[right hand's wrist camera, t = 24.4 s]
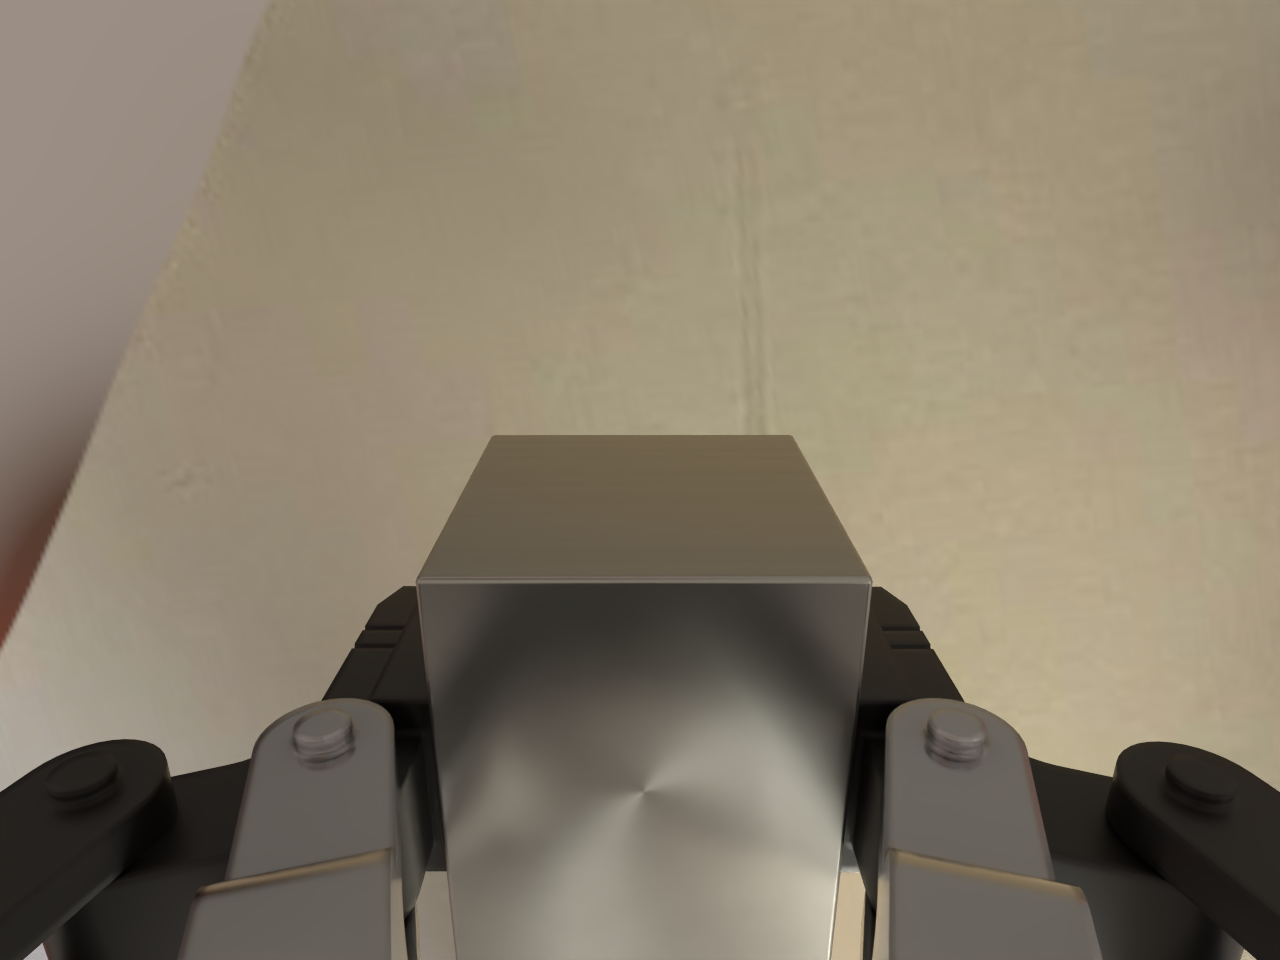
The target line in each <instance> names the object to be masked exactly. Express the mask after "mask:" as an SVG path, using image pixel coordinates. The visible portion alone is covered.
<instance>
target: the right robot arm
mask: <svg viewBox="0 0 1280 960" xmlns="http://www.w3.org/2000/svg"><path fill="white" fill-rule="evenodd" d="M426 871H447V869H446V860H445V850H444V841H443V832H442V822H441V813H440V804H439V794H438V785H437V776H436V766H435V757H434V748H433V738H432V729H431V720H430V710H429V701H428V692H427V682H426V673H425V664H424V654H423V645H422V636H421V626H420V617H419V608H418V598H417V589H416V586H403V587H402V588H400V589H399V590H397V591H396V592H395V593H393V594H392V595H391V596H389V597H388V598H386V599H385V600H384V601H382V602H381V603H379V604H378V605H377V607H376V608H375V610H374V612H373V614H372V615H371V617H370V619H369V620H368V622H367V624H366V625H365V630H363V631H362V632H361V634H360V636H359V637H358V639H357V641H356V643H355V648H352V649H351V651H350V653H349V654H348V656H347V658H346V660H345V661H344V663H343V665H342V666H341V668H340V670H339V672H338V673H337V675H336V677H335V678H334V680H333V682H332V683H331V685H330V687H329V689H328V690H327V692H326V694H325V695H324V697H323V699H322V701H319V702H315V703H312V704H308V705H305V706H303V707H300V708H298V709H295V710H293V711H291V712H289V713H287V714H285V715H284V716H282V717H280V718H279V719H277V720H276V721H274V722H273V723H272V724H271V725H270V726H268V727H267V728H266V729H265V730H264V732H263V733H262V734H261V735H260V736H259V738H258V740H257V741H256V743H255V746H254V748H253V752H252V757H251V759H248V760H245V761H242V762H238V763H234V764H230V765H225V766H221V767H216V768H211V769H206V770H202V771H197V772H192V773H188V774H183V775H178V776H173V777H171V776H170V772H169V768H168V763H167V760H166V757H165V754H164V753H163V751H162V750H161V749H160V748H159V747H157V746H155V745H154V744H151V743H149V742H146V741H140V740H130V739H122V740H110V741H104V742H98V743H94V744H90V745H87V746H83V747H80V748H77V749H74V750H71V751H69V752H66V753H64V754H62V755H59V756H57V757H55V758H53V759H51V760H49V761H47V762H45V763H43V764H42V765H40V766H39V767H37V768H35V769H34V770H32V771H31V772H29V773H28V774H26V775H25V776H23V777H22V778H20V779H19V780H17V781H16V782H14V783H13V784H12V785H10V786H9V787H7V788H6V789H4V790H3V791H1V792H0V960H23V959H24V958H26V957H27V956H28V955H29V954H30V953H31V952H32V951H33V950H35V949H36V948H37V947H38V946H39V945H40V944H41V943H43V946H44V948H45V951H46V954H47V957H48V960H420V944H419V923H418V914H417V906H416V900H417V898H418V895H419V892H420V889H421V885H422V882H423V879H424V875H425V872H426ZM841 872H860V873H861V876H862V880H863V883H864V886H865V889H866V890H865V898H864V906H863V914H862V922H861V943H860V960H1240V959H1241V956H1242V953H1243V950H1244V949H1245V950H1247V951H1248V952H1249V953H1250V954H1251V955H1252V956H1253V957H1254V958H1256V959H1257V960H1280V792H1279V791H1277V790H1276V789H1274V788H1273V787H1271V786H1270V785H1268V784H1267V783H1266V782H1264V781H1263V780H1261V779H1260V778H1258V777H1257V776H1255V775H1254V774H1252V773H1251V772H1249V771H1248V770H1246V769H1244V768H1243V767H1241V766H1239V765H1237V764H1236V763H1234V762H1232V761H1230V760H1228V759H1226V758H1223V757H1221V756H1219V755H1216V754H1214V753H1211V752H1208V751H1205V750H1202V749H1199V748H1196V747H1192V746H1188V745H1183V744H1177V743H1171V742H1145V743H1139V744H1135V745H1133V746H1130V747H1128V748H1127V749H1125V750H1124V751H1122V753H1121V754H1120V755H1119V757H1118V759H1117V762H1116V766H1115V770H1114V774H1113V777H1108V776H1104V775H1099V774H1094V773H1089V772H1085V771H1080V770H1075V769H1070V768H1066V767H1061V766H1056V765H1053V764H1049V763H1045V762H1042V761H1039V760H1036V759H1033V758H1030V757H1028V752H1027V749H1026V746H1025V743H1024V741H1023V740H1022V738H1021V736H1020V735H1019V734H1018V733H1017V732H1016V730H1015V729H1014V728H1013V727H1012V726H1010V725H1009V724H1008V723H1007V722H1006V721H1004V720H1003V719H1001V718H1000V717H998V716H996V715H995V714H993V713H991V712H989V711H987V710H985V709H982V708H980V707H977V706H975V705H972V704H968V703H965V702H964V700H963V698H962V697H961V695H960V693H959V692H958V690H957V688H956V687H955V685H954V683H953V682H952V680H951V678H950V676H949V675H948V673H947V671H946V670H945V668H944V666H943V665H942V663H941V661H940V660H939V658H938V656H937V655H936V653H935V651H934V650H933V649H931V648H930V643H929V641H928V640H927V638H926V636H925V635H924V633H923V631H920V626H919V625H918V623H917V621H916V620H915V618H914V616H913V615H912V613H911V611H910V609H909V608H908V606H907V605H906V604H904V603H903V602H902V601H900V600H899V599H897V598H896V597H895V596H893V595H892V594H890V593H889V592H888V591H886V590H885V589H883V588H882V587H872V591H871V600H870V609H869V618H868V627H867V636H866V646H865V655H864V664H863V673H862V682H861V691H860V700H859V709H858V718H857V727H856V736H855V746H854V755H853V764H852V773H851V782H850V791H849V800H848V809H847V818H846V827H845V836H844V846H843V855H842V864H841Z"/></svg>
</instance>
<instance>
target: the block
mask: <svg viewBox="0 0 1280 960" xmlns="http://www.w3.org/2000/svg"><path fill="white" fill-rule="evenodd" d="M872 582H873V581H872V578H871V576H870V574H869V572H868V571H867V569H866V567H865V565H864V563H863V562H862V560H861V558H860V556H859V554H858V553H857V551H856V549H855V547H854V546H853V544H852V542H851V540H850V538H849V537H848V535H847V533H846V531H845V529H844V528H843V526H842V524H841V522H840V520H839V519H838V517H837V515H836V513H835V511H834V510H833V508H832V506H831V504H830V502H829V501H828V499H827V497H826V495H825V494H824V492H823V490H822V488H821V486H820V485H819V483H818V481H817V479H816V477H815V476H814V474H813V472H812V470H811V468H810V467H809V465H808V463H807V461H806V459H805V458H804V456H803V454H802V452H801V450H800V449H799V447H798V445H797V443H796V442H795V440H794V438H793V436H790V435H495V436H492V437H491V439H490V441H489V443H488V445H487V447H486V449H485V450H484V452H483V454H482V456H481V458H480V460H479V462H478V464H477V466H476V467H475V469H474V471H473V473H472V475H471V477H470V479H469V481H468V483H467V485H466V486H465V488H464V490H463V492H462V494H461V496H460V498H459V500H458V502H457V503H456V505H455V507H454V509H453V511H452V513H451V515H450V517H449V519H448V520H447V522H446V524H445V526H444V528H443V530H442V532H441V534H440V536H439V537H438V539H437V541H436V543H435V545H434V547H433V549H432V551H431V553H430V554H429V556H428V558H427V560H426V562H425V564H424V566H423V568H422V570H421V571H420V573H419V575H418V577H417V580H416V589H417V598H418V608H419V617H420V626H421V636H422V645H423V654H424V664H425V673H426V682H427V692H428V701H429V710H430V720H431V729H432V738H433V748H434V757H435V766H436V776H437V785H438V794H439V804H440V813H441V822H442V832H443V841H444V850H445V860H446V869H447V878H448V888H449V897H450V906H451V916H452V925H453V934H454V944H455V953H456V959H457V960H830V959H831V955H832V945H833V936H834V927H835V918H836V909H837V900H838V891H839V882H840V873H841V864H842V855H843V846H844V836H845V827H846V818H847V809H848V800H849V791H850V782H851V773H852V764H853V755H854V746H855V736H856V727H857V718H858V709H859V700H860V691H861V682H862V673H863V664H864V655H865V646H866V636H867V627H868V618H869V609H870V600H871V591H872Z"/></svg>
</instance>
